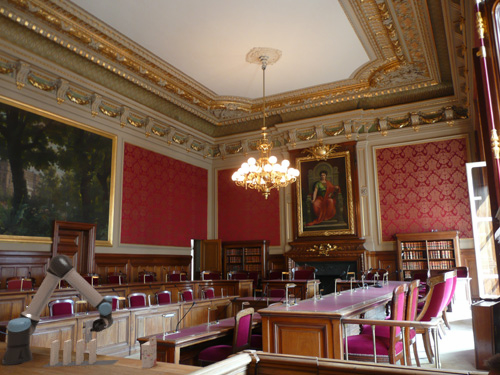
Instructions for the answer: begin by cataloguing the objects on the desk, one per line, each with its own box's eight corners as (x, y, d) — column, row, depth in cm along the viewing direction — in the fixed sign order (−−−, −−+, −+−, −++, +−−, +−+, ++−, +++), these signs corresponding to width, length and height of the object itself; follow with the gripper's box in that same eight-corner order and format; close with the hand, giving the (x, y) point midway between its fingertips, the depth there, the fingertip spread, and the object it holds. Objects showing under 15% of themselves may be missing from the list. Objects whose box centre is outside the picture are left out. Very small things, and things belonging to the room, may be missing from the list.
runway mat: (42, 367, 224) (42, 366, 224) (51, 363, 234) (51, 362, 234) (113, 365, 224) (113, 364, 224) (119, 360, 234) (119, 359, 234)
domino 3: (75, 364, 226) (76, 341, 228) (80, 361, 232) (81, 339, 234) (79, 364, 226) (79, 341, 228) (83, 361, 232) (84, 339, 234)
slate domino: (84, 342, 238) (85, 320, 240) (88, 340, 244) (89, 319, 246) (87, 342, 238) (88, 320, 240) (91, 340, 244) (92, 319, 246)
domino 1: (49, 365, 226) (50, 342, 228) (55, 362, 232) (55, 340, 234) (53, 365, 226) (54, 342, 228) (58, 362, 232) (59, 340, 234)
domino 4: (88, 364, 226) (89, 341, 228) (92, 361, 232) (93, 338, 234) (92, 364, 226) (92, 340, 228) (96, 361, 232) (96, 338, 234)
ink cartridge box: (148, 363, 225) (148, 335, 227) (156, 364, 224) (156, 335, 226) (140, 368, 217) (141, 338, 219) (149, 368, 216) (149, 338, 218)
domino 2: (62, 365, 226) (63, 341, 228) (67, 362, 232) (68, 339, 234) (66, 365, 226) (67, 341, 228) (70, 362, 232) (71, 339, 234)
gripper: (111, 330, 259) (98, 338, 236) (87, 331, 259) (71, 338, 236) (112, 318, 260) (98, 324, 237) (88, 318, 260) (72, 324, 237)
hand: (85, 331), depth 236 cm, fingers closed on slate domino, 2 cm apart
